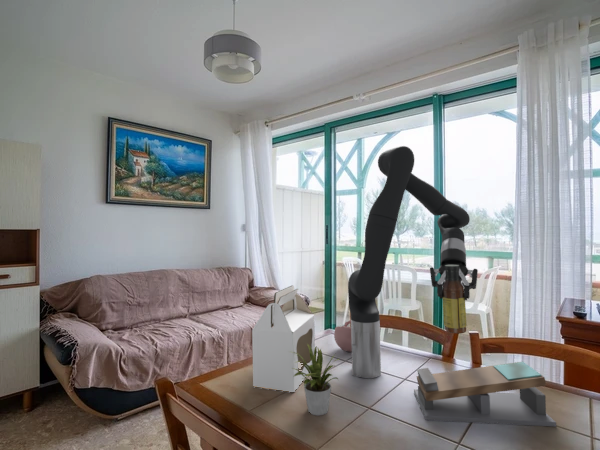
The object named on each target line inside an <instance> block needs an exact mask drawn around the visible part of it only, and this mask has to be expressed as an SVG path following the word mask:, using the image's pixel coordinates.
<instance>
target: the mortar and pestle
mask: <svg viewBox="0 0 600 450" xmlns="http://www.w3.org/2000/svg"><path fill="white" fill-rule="evenodd" d="M348 325H351V319H350V320H348V321H345V323H344V325H342V326H341V325H340V326H339V325H337V326H336V327H335V328H334V332H333V335H334V336H333V337H334V341H335V344H336V345H337V346H338V347H339V348H340V350H341V351H344V352H347V353H352V345H351V340H352V339H351V326H348Z"/></svg>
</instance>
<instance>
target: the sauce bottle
mask: <svg viewBox="0 0 600 450" xmlns="http://www.w3.org/2000/svg"><path fill="white" fill-rule="evenodd" d="M445 271H446V280H445V283H444V285H443V292H442V312H443V313H442V314H443V315H442V316H443V326H444V331H446V332H448V333H450V334H451V333H452V334H457V335H458V334H465V333H466V332H467V313H466V312H467V310H466V300H464V287H463V285H462V283H461V282H460V278H459V265H445Z"/></svg>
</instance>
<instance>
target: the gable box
mask: <svg viewBox="0 0 600 450" xmlns="http://www.w3.org/2000/svg"><path fill="white" fill-rule="evenodd" d="M298 290H299V288H296V289H295V286H294V285H290V286H287V287H284V288H282V289H280V290H278V291H276V292H275V293H274V296H273V302H271V303H269V304H268V305H267V306H266V308H265V310H264V311H263V312H262V314H261V316H260V317H259V319H258V320H257V322H256V324H255V325H254V327H253V328H252V329H251V332H252V335H251V337H252V338H251V339H252V343H251V344H252V346H251V347H252V387H253V386H257V387H265V388H272V389H277V390H283V391H289V392H288V393H290V392H294V393H295V392H296V391H297V390H298V389H299V388H300V386H301V385H302V383H303V382H304V381H305V380H306V378H307V376H305V377H306V378H305V377H303V376H302V375H301V374H300V375H297V376H294V375H295V374H296V373H298V371H297V370H302V371H300V372H303V373H305V374H309V372H308V370H307V369H306V368H305V366H304V365H305V364H304V363H305V362H306V363H307V365H308V366H310V365H312V361H311V358H310V352H309V348H308V345H309V346H310V347H311V348H312V351H313V355H314V350H315V347H316V340H315V339H316V336H315V327H316V326H315V314H314V313H313V312H312V311H311V309H310V307H309V306H308V305H307V303H306V302H305V300H304V299H303V297H302V296H301V295H300V294H299V293H297V292H298ZM307 344H308V345H307ZM292 352H295V353H292ZM296 353H297V354H296ZM298 354H299V355H300V356H301V357H302V358H303V359H304V360H305V362H304V360H303V359H302V358H301V357H300V356H299V355H298ZM297 355H298V356H297ZM297 361H301V362H300V363H303V362H304V363H303V364H304V365H303V366H302V367H301V369H299V368H298V362H297ZM294 362H295V363H294ZM301 365H302V364H301ZM293 368H295V369H297V370H295V369H293ZM307 368H308V367H307ZM309 371H310V370H309ZM305 374H303V375H305ZM293 376H294V377H293ZM302 378H304V379H302ZM302 381H303V382H302ZM299 385H300V386H299ZM296 389H297V390H296ZM295 390H296V391H295ZM283 391H282V392H283Z"/></svg>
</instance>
